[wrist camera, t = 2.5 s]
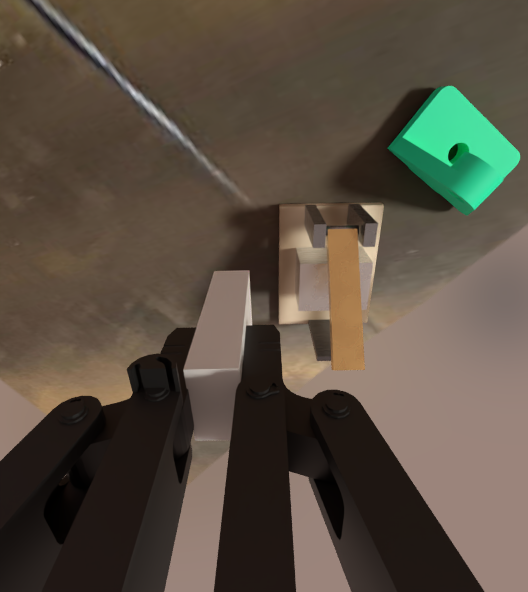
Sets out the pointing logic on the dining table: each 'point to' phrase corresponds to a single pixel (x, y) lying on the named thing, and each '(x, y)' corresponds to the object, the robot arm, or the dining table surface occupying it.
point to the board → (297, 237)
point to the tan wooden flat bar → (344, 297)
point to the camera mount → (470, 156)
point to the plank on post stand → (315, 272)
